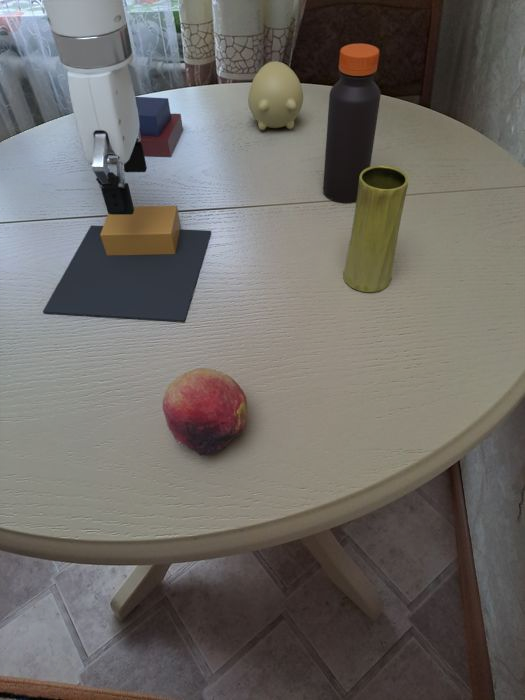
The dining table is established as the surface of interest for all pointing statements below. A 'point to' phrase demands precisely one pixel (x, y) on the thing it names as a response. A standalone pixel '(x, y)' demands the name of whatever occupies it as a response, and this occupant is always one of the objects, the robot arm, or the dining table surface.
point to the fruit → (205, 410)
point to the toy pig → (275, 96)
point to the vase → (375, 228)
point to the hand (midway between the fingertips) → (128, 191)
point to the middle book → (153, 115)
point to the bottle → (351, 122)
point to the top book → (142, 231)
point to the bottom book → (163, 139)
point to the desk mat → (130, 281)
